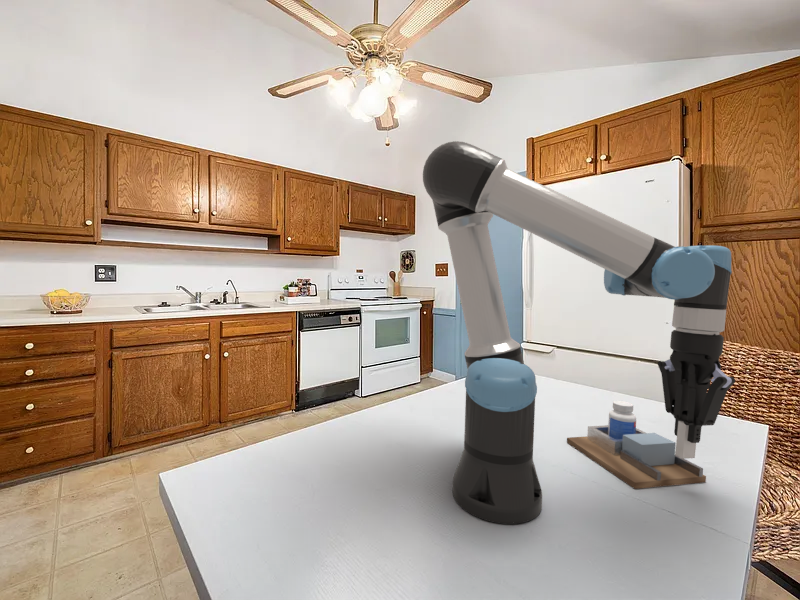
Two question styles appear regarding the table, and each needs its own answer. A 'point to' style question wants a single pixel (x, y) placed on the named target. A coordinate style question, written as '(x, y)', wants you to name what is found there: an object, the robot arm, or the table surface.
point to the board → (629, 473)
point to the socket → (606, 439)
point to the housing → (650, 448)
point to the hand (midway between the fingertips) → (684, 456)
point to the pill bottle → (621, 420)
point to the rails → (654, 472)
